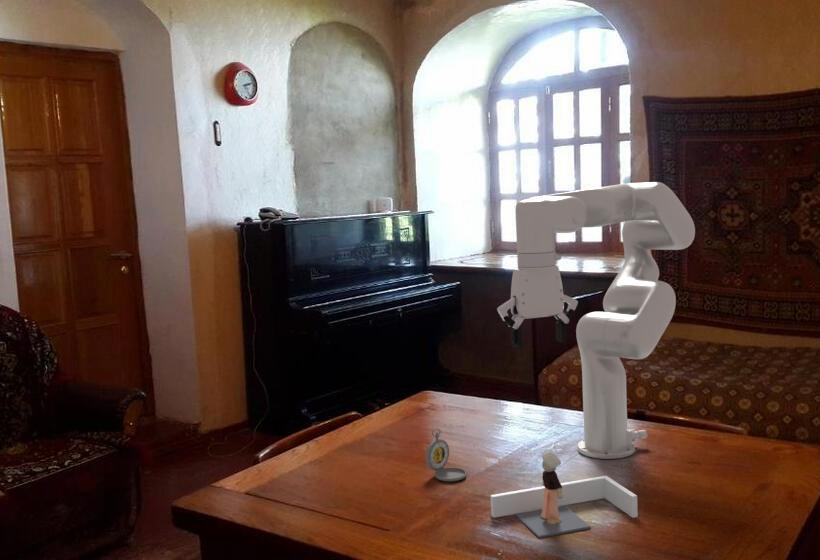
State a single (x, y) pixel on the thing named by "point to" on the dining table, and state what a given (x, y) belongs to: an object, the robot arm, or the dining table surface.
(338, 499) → the dining table surface
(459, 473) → the pocket watch
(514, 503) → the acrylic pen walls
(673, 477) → the dining table surface
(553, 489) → the grandmother figurine
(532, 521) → the slate mat
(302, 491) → the dining table surface
